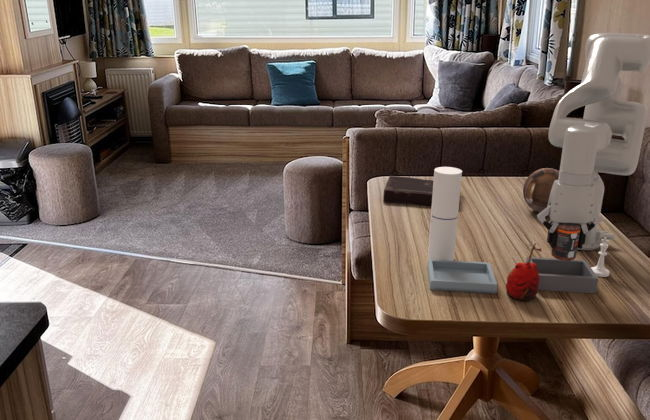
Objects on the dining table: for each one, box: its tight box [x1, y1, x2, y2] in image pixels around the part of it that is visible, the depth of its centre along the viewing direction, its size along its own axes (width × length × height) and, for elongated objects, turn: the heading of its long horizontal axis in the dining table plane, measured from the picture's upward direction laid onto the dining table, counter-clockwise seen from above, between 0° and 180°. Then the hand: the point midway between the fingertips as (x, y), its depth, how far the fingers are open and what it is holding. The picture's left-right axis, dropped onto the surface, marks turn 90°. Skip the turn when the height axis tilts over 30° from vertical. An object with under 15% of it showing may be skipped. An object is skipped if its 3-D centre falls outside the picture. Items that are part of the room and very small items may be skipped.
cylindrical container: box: [427, 166, 463, 261], centre depth 170 cm, size 7×7×25 cm
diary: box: [382, 175, 434, 207], centre depth 224 cm, size 19×25×5 cm
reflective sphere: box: [522, 167, 560, 214], centre depth 209 cm, size 15×15×15 cm
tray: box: [427, 258, 498, 295], centre depth 161 cm, size 16×13×2 cm
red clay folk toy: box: [505, 243, 543, 302], centre depth 151 cm, size 8×7×15 cm
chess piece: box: [590, 237, 610, 278], centre depth 165 cm, size 5×5×10 cm
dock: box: [525, 256, 599, 294], centre depth 161 cm, size 15×11×4 cm
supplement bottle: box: [550, 223, 581, 261], centre depth 158 cm, size 6×6×11 cm
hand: (565, 245), depth 159 cm, fingers closed on supplement bottle, 6 cm apart
